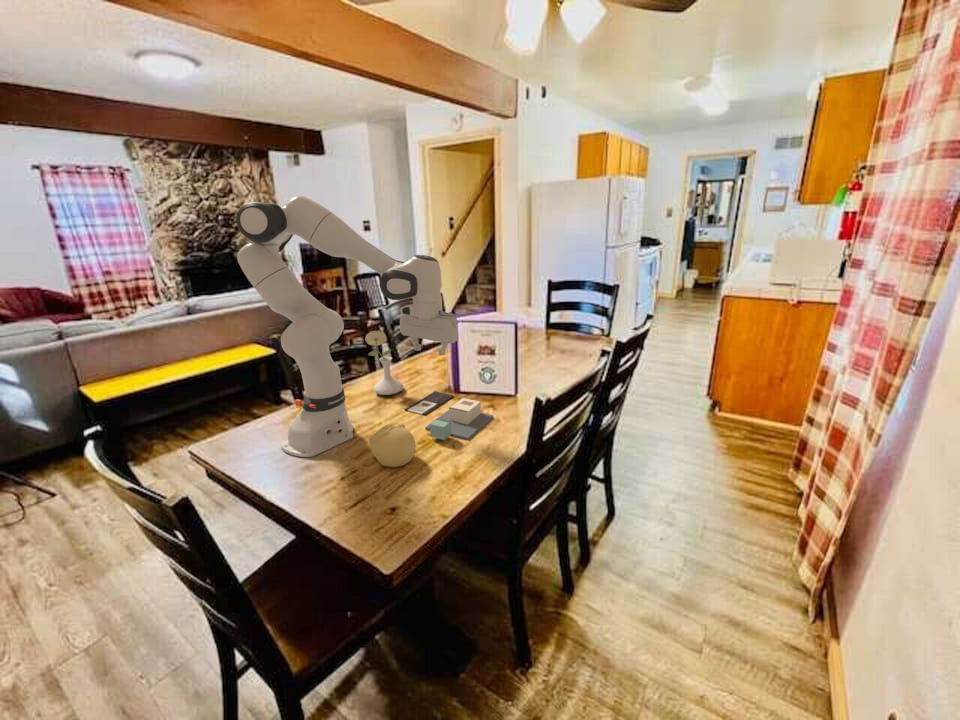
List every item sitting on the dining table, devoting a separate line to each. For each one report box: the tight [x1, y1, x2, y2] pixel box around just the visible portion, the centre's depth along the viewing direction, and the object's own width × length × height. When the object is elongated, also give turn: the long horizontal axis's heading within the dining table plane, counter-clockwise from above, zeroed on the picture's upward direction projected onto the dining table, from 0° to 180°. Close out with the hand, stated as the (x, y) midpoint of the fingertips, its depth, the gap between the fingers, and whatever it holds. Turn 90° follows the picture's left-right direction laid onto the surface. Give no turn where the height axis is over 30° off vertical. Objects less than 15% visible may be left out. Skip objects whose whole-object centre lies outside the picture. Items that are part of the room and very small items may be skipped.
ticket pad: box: [425, 397, 494, 441], centre depth 144 cm, size 17×16×5 cm
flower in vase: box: [364, 330, 404, 396], centre depth 168 cm, size 13×11×25 cm
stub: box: [429, 417, 451, 441], centre depth 135 cm, size 4×5×4 cm
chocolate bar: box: [404, 391, 455, 417], centre depth 161 cm, size 9×1×18 cm
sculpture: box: [368, 423, 417, 468], centre depth 123 cm, size 11×12×11 cm
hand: (429, 352), depth 139 cm, fingers open, 8 cm apart
